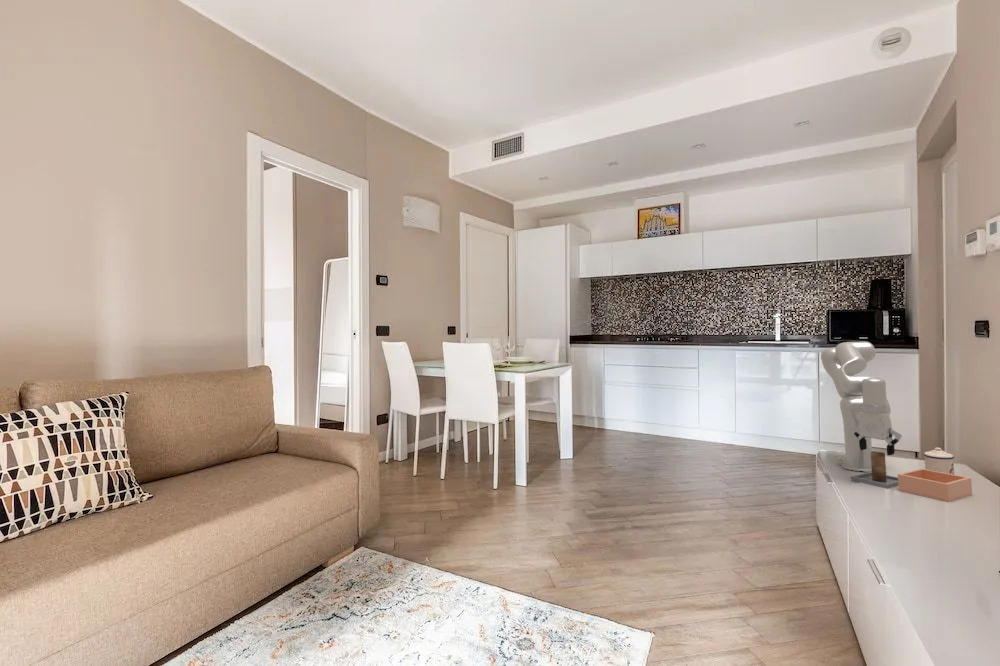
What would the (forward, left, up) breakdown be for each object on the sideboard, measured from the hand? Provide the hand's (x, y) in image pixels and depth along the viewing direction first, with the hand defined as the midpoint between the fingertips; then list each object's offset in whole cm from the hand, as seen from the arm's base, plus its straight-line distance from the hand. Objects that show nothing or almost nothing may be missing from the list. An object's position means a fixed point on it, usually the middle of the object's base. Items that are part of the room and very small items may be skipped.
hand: (876, 452), depth 191 cm
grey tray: (+1, -1, -12) cm, 12 cm away
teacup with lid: (+7, +28, -12) cm, 32 cm away
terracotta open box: (+18, +1, -12) cm, 21 cm away
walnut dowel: (+1, -1, -11) cm, 11 cm away
